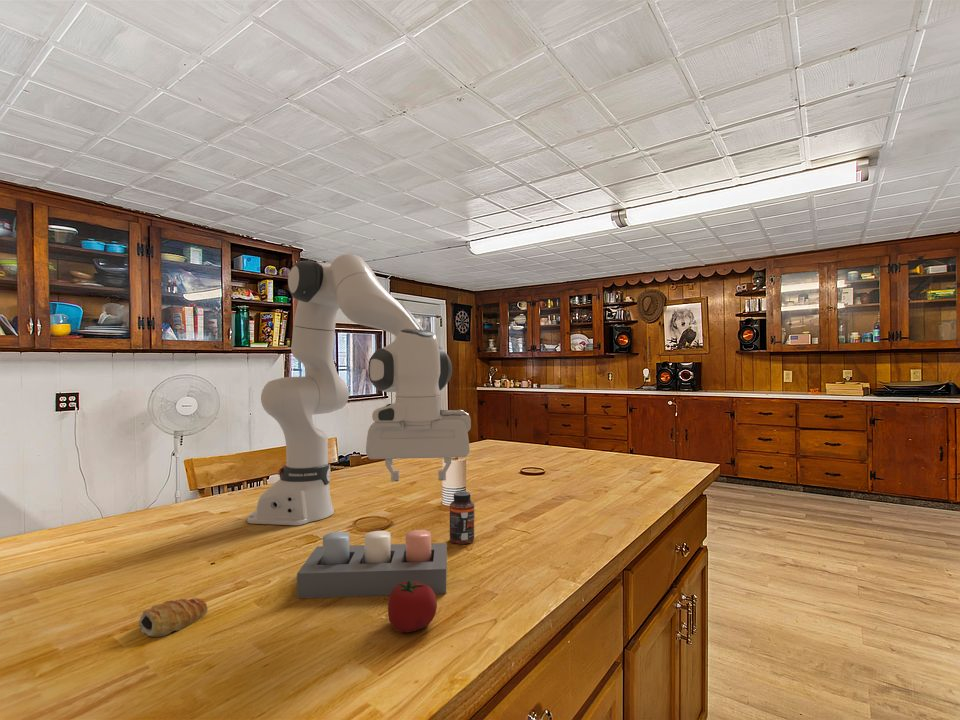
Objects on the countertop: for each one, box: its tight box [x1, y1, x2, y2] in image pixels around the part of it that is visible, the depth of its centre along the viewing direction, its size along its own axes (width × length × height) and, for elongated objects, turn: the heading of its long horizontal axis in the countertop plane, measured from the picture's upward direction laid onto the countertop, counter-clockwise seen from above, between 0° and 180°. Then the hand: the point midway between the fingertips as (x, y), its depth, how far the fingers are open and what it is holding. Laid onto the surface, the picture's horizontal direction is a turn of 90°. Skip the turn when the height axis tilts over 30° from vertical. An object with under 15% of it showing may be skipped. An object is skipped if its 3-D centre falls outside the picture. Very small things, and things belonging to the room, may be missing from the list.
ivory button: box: [363, 530, 391, 564], centre depth 95 cm, size 5×5×6 cm
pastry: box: [138, 597, 208, 638], centre depth 80 cm, size 9×7×4 cm
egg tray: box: [296, 542, 448, 599], centre depth 95 cm, size 27×13×4 cm, turn 93°
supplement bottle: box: [449, 491, 475, 545], centre depth 116 cm, size 6×6×11 cm
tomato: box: [387, 581, 438, 634], centre depth 79 cm, size 8×8×7 cm
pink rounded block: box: [405, 529, 432, 562], centre depth 96 cm, size 5×5×6 cm
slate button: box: [322, 531, 350, 565], centre depth 95 cm, size 5×5×6 cm
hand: (418, 480), depth 96 cm, fingers open, 8 cm apart
